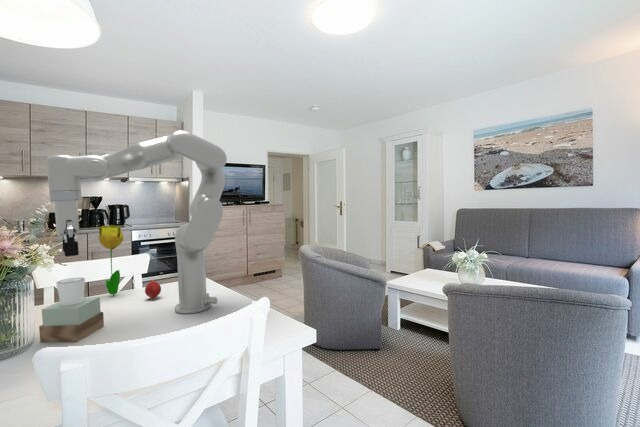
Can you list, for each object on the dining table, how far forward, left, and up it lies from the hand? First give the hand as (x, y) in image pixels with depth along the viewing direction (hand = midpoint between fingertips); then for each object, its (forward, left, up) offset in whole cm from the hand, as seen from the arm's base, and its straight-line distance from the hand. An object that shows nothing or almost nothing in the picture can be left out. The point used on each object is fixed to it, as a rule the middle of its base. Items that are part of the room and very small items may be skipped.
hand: (70, 253), depth 96 cm
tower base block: (+1, 0, -25) cm, 25 cm away
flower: (+12, -36, -25) cm, 45 cm away
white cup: (0, 0, -15) cm, 15 cm away
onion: (-7, -32, -25) cm, 41 cm away
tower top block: (0, 0, -20) cm, 20 cm away
